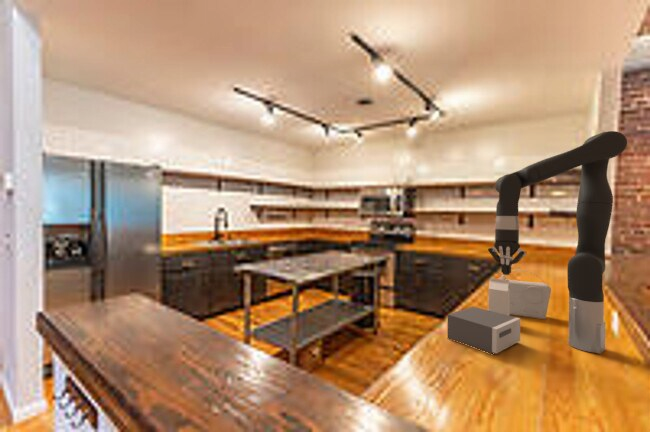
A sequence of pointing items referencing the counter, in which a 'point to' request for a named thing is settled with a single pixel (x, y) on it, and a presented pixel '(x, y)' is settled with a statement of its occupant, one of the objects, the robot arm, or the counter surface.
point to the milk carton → (499, 296)
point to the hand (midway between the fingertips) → (506, 274)
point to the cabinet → (475, 327)
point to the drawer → (505, 335)
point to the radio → (528, 298)
